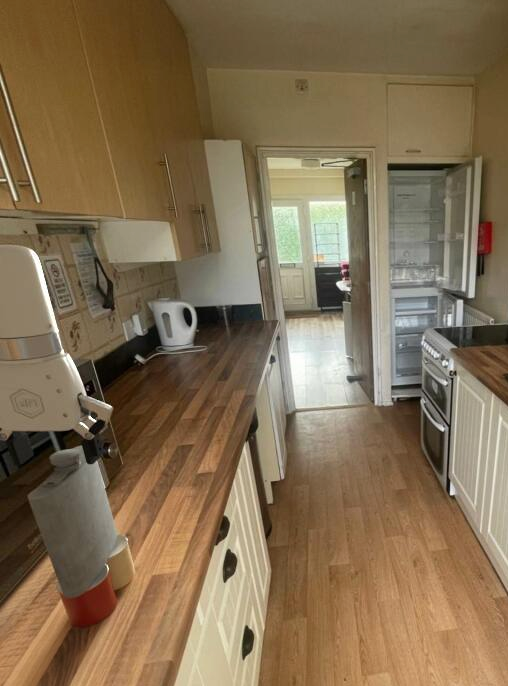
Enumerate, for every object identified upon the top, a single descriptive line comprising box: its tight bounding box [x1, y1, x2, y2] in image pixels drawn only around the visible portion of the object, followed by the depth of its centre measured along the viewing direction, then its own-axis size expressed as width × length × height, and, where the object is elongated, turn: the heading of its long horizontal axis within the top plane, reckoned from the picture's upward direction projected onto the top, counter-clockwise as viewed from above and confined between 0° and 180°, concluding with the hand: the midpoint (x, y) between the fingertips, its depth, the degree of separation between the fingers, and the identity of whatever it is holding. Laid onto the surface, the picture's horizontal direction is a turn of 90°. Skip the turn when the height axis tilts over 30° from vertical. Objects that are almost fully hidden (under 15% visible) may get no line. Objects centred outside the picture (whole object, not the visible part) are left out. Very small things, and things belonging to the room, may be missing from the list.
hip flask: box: [27, 444, 118, 598], centre depth 66 cm, size 16×4×20 cm, turn 13°
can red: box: [56, 564, 118, 628], centre depth 68 cm, size 7×7×7 cm
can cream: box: [106, 533, 136, 592], centre depth 75 cm, size 7×7×7 cm
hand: (60, 460), depth 63 cm, fingers open, 9 cm apart
